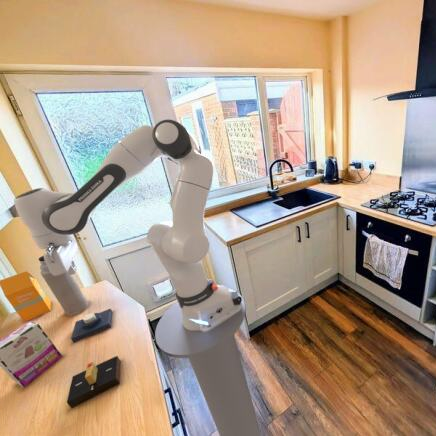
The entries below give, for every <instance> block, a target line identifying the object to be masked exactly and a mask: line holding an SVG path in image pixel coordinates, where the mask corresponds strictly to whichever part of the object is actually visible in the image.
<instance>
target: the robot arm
mask: <svg viewBox="0 0 436 436" xmlns="http://www.w3.org/2000/svg"><path fill="white" fill-rule="evenodd" d="M160 158H167V160H169V161H170V162H173V163H175V164H177V165H178V167H179V169H178V174H177V177H176V179H175V180H176V181H175V184H174V187H173V190H172V193H171V196H170V199H169V206H170V209H171V211H172V221H161V222H160V221H159V222H157V223H154V224H153V225H152V226H151V227H150V228H149V229H148V231H147V234H146V240H147V243H148V244H149V246H150V247H151V248H152V249H153V251H154V252H155V254H156V256H157V258H158V259H159V261H160V263H161V264H162V266H163V267H164V269H165V271H166V272H167V273H168V275H169V278H170V280H171V282H172V285H173V288H174V290H175V298H176V302H177V301H178V303H179V306H180V307H181V309H182V315H183V326H184V327H185V328H186V329H187V330H190V331H202V332H205V333H207V332H209V331H211V330H212V329H214V328H215V327H217V326H218V325H220V324H221V323H223V322H224V321H226V320H227V319H229V318H230V317H232V316H233V315H235V314H236V313H238V312H239V311H240V310H241V308H242V304H241V301H242V298H243V297H242V298H241V297H240V296H238V294H237V292H238V291H237V290H235V292H233V291H230V290H229V289H228V288H229V287H227V286H226V285H223V284H216V283H215V281H214V280H213V279H212V278H211V276H208V277H209V278H207V274H206V271H205V267H204V265H203V263H202V261H203V260H204V259H205V257H206V256H207V255H208V253H209V250H210V241H209V238H208V236H207V234H206V230H205V211H206V210H205V209H206V206H207V203H208V199H209V195H210V192H211V188H212V184H213V178H214V177H213V176H214V163H213V160H211V158H209V157H208V156H206V155H204V154H202V149H201V146H200V144H199V143H198V142H197V140H196V139H195V137H194V135H193V134H192V133H191V132H190V131H188V129H187V128H186V127H185V126H184V125H183V124H182V123H180V122H178V121H177V120H173V119H161V120H160V121H158V122H157V123H156V124H155V125H154V126H151V125H147V124H145V125H141V126H139V127H138V128H136V129H134V130H132V131H131V132H129V133H128V134H127V135H125V136H124V137H123V138H122V139H120V140H119V141H118V142H117V143H116V144H115V145H114V146H113V147H112V149H111V150H110V151H109V152H108V154H107V155H106V156H105V158H104V160H103V161H102V163H101V165H100V166H99V168H98V169H97V171H96V172H95V173H94V174H93V175H92V177H91V178H90V179H89V180H87V181H86V183H84V184H83V185H82V186H81V187H80V188H79V189H78V190H76V191H75V192H62V191H55V190H49V189H47V188H44V187H39V188H34V189H31V190H28V191H26V192H23V193H21V194H19V195H17V196H16V197H15V198H14V200H13V203H14V208H15V209H16V211H17V214H18V216H19V217H20V219H21V221H22V223H23V224H24V225H25V226H26V227H27V228H28V229H29V234H30V236H31V237H32V239H33V241H34V243H35V244H36V246H37V248H38V249H39V250H45V253H43V256H44V260H45V262H46V264H47V266H48V268H49V270H50V272H51V274H52V275H54V276H58V275H61V274H64V273H67V272H68V273H69V275H72V276H73V275H75V274H76V273H77V271H78V268H77V266H76V263H75V259H74V258H75V256H76V254H77V251H78V248H79V247H78V244H77V243H78V242H77V241H76V238H75V234H78V233H80V232H81V231H83V230H84V228H85V227H86V225H87V224H88V222H89V220H90V219H91V218H92V216H93V215H94V213H95V212H96V208H97V207H98V206H99V205H100V204H101V203H102V202H103V201H104V200H105V199H106V198H107V197H108V196H109V195H111V193H112V192H114V191H115V190H116V189H118V188H119V187H121V186H123V185H124V184H126V183H128V182H130V181H131V180H133V179H135V178H136V177H138V176H139V175H141V174H143V172H145V171H146V170H147V169H148V168H149V167H150V166H151V165H152V164H153V163H154V162H156V161H157V160H158V159H160Z"/></svg>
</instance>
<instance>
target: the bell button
mask: <svg viewBox="0 0 436 436" xmlns="http://www.w3.org/2000/svg"><path fill="white" fill-rule="evenodd" d="M94 313H95V312H91V313H88V314H86V315H84V317H83V318H82V319H83V320H84V322H85V323H90V322H92V321H93V320H95V319H96V316H95V315H94Z"/></svg>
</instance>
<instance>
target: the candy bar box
mask: <svg viewBox="0 0 436 436" xmlns="http://www.w3.org/2000/svg"><path fill="white" fill-rule="evenodd" d="M62 358H63V354H61V352H60V351H59V349H58V348H57V346H56V345H55V344H54V343H53V342H52V340H51V339H50V337H49V336H48V334H47V333H46V332H45V331H44V329H43V328H42V326H41V325H40V324H39V323H38V322H33V321H30V320H28V322H27V323H26V322H25V324H23V325H22V326H20V327H18V328H17V329H16V330H14V331H11V333H9V334H8V335H5V337H3V338H1V339H0V367H1V368H2V370H3V371H4V372H6V374H7V375H8V376H9V377H10V379H12V380H13V381H14V383H15V384H17V385H19V386H21V387H23V388H26V387H28V386H29V385H30V384H31V383H32V382H34V381H35V380H36V379H38V377H39V376H41V375H42V374H43V373H45V372H46V371H47V370H48V369H50V368H51V367H52V366H54V364H56V363H57V362H58V361H60V359H62Z"/></svg>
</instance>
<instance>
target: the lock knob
mask: <svg viewBox="0 0 436 436" xmlns="http://www.w3.org/2000/svg"><path fill="white" fill-rule="evenodd" d="M95 365H96V364H95V363H94V362H93V361H91V362H89V363H87V365H86V369H85V370H86V375H85V378H86V380H87V381H88V383H89V384H90V385H91V384H93V383H96V377H97V370H98V369H97V367H96V366H95Z"/></svg>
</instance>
